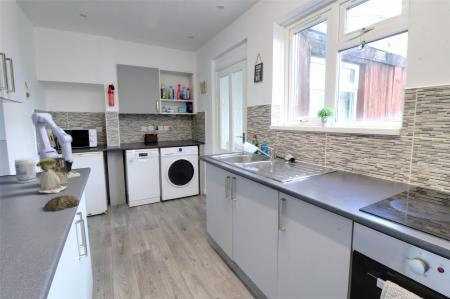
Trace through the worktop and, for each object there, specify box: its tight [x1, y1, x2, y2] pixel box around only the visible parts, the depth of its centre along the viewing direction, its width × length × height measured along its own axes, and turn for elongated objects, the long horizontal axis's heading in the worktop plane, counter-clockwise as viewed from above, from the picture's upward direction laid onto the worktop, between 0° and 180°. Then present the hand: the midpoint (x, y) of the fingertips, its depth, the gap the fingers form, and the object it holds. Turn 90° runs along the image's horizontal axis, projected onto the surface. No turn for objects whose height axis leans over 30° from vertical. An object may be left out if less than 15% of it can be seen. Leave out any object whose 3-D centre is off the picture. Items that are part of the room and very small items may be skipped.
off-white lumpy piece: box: [35, 158, 67, 194], centre depth 124 cm, size 12×13×18 cm
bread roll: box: [44, 194, 80, 212], centre depth 104 cm, size 13×12×5 cm
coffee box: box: [51, 156, 69, 186], centre depth 138 cm, size 9×6×16 cm
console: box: [67, 169, 81, 179], centre depth 158 cm, size 16×13×4 cm
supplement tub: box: [14, 157, 38, 184], centre depth 145 cm, size 10×10×15 cm
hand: (69, 171), depth 161 cm, fingers closed
